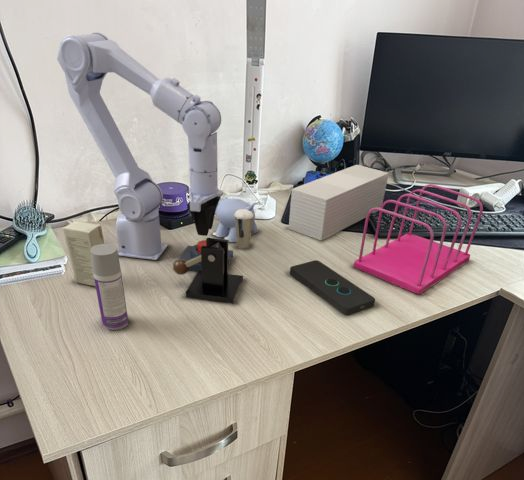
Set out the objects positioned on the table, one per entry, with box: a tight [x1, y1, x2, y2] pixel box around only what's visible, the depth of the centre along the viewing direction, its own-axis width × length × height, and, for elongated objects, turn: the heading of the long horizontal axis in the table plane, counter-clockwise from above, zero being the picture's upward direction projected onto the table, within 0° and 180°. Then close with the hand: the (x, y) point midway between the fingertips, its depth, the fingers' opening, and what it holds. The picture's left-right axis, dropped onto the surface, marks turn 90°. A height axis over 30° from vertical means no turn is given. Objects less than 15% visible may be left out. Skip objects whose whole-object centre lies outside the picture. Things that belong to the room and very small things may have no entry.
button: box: [196, 239, 206, 253], centre depth 109 cm, size 4×4×2 cm
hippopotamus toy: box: [212, 197, 259, 243], centre depth 124 cm, size 11×15×10 cm
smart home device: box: [289, 259, 376, 316], centre depth 104 cm, size 8×2×20 cm
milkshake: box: [234, 209, 253, 250], centre depth 117 cm, size 4×5×10 cm
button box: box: [177, 243, 234, 272], centre depth 111 cm, size 11×9×4 cm
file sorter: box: [352, 183, 484, 295], centre depth 111 cm, size 17×25×16 cm
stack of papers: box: [287, 164, 390, 242], centre depth 134 cm, size 32×11×11 cm, turn 140°
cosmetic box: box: [62, 220, 105, 287], centre depth 99 cm, size 6×4×12 cm
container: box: [90, 243, 129, 331], centre depth 86 cm, size 5×5×15 cm
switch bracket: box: [185, 237, 244, 304], centre depth 99 cm, size 10×10×10 cm
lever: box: [172, 242, 225, 276], centre depth 99 cm, size 12×3×3 cm
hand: (204, 231), depth 107 cm, fingers open, 3 cm apart
